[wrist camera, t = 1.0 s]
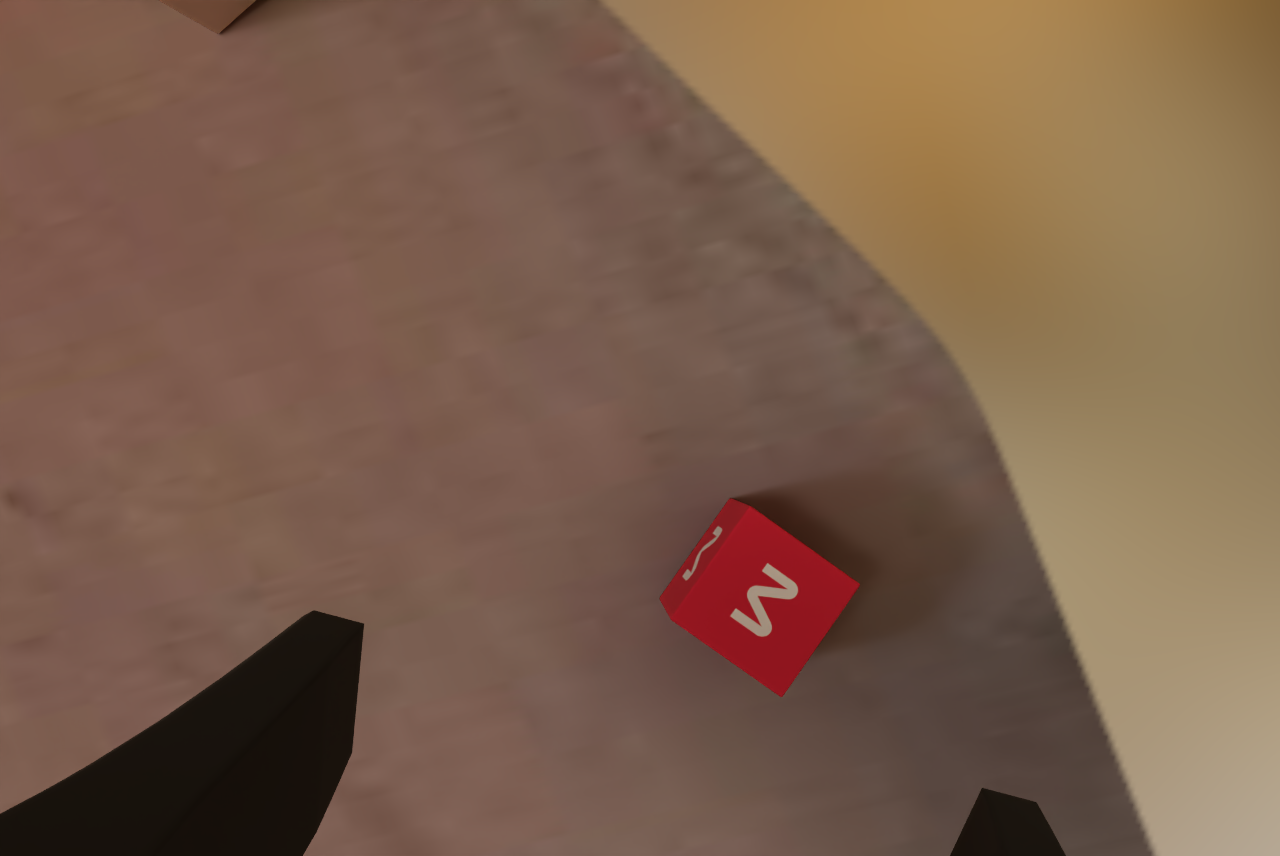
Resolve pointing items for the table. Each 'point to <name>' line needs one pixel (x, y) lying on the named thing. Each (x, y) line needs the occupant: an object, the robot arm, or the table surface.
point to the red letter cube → (757, 595)
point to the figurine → (210, 11)
